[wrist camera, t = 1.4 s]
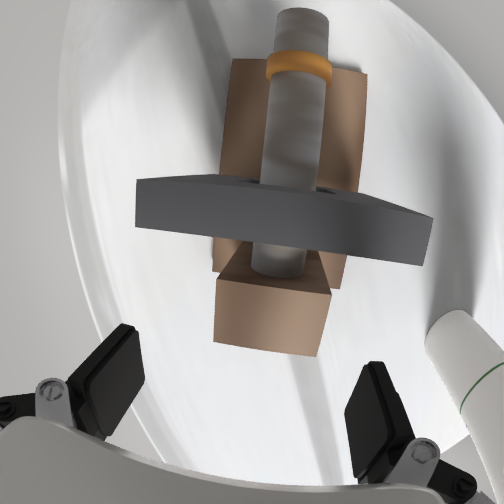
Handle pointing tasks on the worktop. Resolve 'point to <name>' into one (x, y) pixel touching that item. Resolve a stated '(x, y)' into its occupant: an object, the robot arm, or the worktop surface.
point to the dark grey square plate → (283, 216)
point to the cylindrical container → (473, 385)
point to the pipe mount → (287, 182)
